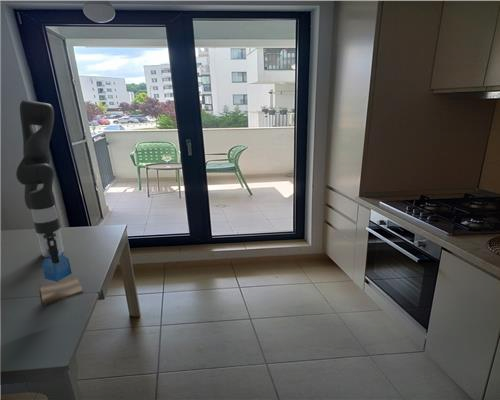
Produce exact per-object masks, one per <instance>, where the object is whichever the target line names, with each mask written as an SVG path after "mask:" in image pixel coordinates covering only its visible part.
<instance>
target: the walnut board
mask: <svg viewBox="0 0 500 400" xmlns="http://www.w3.org/2000/svg"><path fill="white" fill-rule="evenodd" d="M39 289H40V295H41V300H42V305H43V306H45V305H49V304H52V303H55V302H58V301H61V300H64V299H66V298H67V299H68V298H70V297H74V296H76V295H79V294H82V293H84V290H83V287H82V284H81V282H80V280H79V278H78V276H75V277H71V278H68V279H67V278H66V279H63V280H59V281H58V282H54V283H51V284H47V285H43V286H41V287H39Z"/></svg>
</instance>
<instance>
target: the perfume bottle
mask: <svg viewBox="0 0 500 400" xmlns="http://www.w3.org/2000/svg"><path fill="white" fill-rule="evenodd" d="M57 250H58V249H57ZM52 251H56V250H55V249H53V250H51V252H52ZM49 253H50V252H49V249H48V255H49V256H48V257H44V259H43V261H42V263H41V267H42V271H43V276H44V279H45V280H48V281H53V282H55V283H57V282H60V281H62V280H64V278H67V277H68V276H70V275H71V274H72V268H71V264H70V259H69V258H68V257H66V256H65V255H64V254H63V253H61V254H58V258H59V263H56V264H55V263H52V259H51V256H50V254H49ZM58 253H59V250H58Z"/></svg>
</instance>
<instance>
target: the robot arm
mask: <svg viewBox="0 0 500 400" xmlns="http://www.w3.org/2000/svg"><path fill="white" fill-rule="evenodd" d="M19 116H20V118H19V119H20V124H21V132H22V142H23V143H22V145H23V147H22V148H23V149H22V151H23V153H22V154H23V158H22V159H21V161H20V163H19V164H18V166H17V168H16V173H15V174H16V175H15V178H16V179H17V181H18V182H19V183H20V184H21V185H24V203H25V206H26V207H27V208H28V209H29V210H31V216H32V221H33V225H34V231H35V233H36V235H37V239H38V243H39V246H40V251H41V255H42V256H41V257H43V258H46V257H48V256H49V255H48V249H49V252H50V253H49V254H50V256H51V259H52V263H55V264H56V263H59V258H58V254H63V253H64V252H65V248H64V243H63V238H62V235H61V234H62V233H61V225H60V220H59V216H58V210H57V207H56V198H55V196H54V192H53V184H54V178H55V177H54V175H55V173H54V172H55V171H54V168H53V167H52V166H51V160H50V159H51V157H50V155H51V154H50V151H49V148H50V141H51V139H52V133H53V129H54V124H55V109H54V107H53V105H52V104H50V103H48V102H47V103H46V102H40V101H34V100H27V99H26V100H21V101H20V103H19ZM33 126H38V127H39V126H40V128H39V129H38V130H37V131H34V129H33ZM39 185H43V186H42V187H39V188H38V186H39ZM53 249H55V250H56V251H52V252H51V250H53ZM57 249H58V250H59V253H58V250H57Z"/></svg>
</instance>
